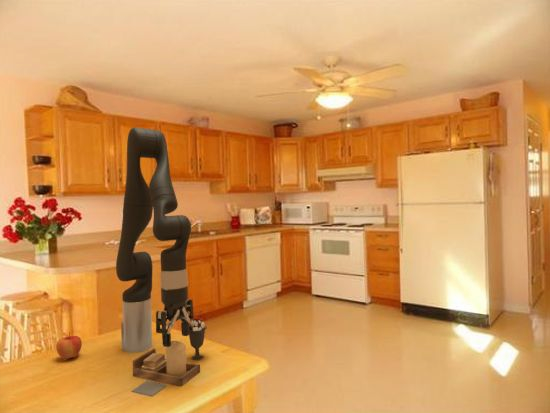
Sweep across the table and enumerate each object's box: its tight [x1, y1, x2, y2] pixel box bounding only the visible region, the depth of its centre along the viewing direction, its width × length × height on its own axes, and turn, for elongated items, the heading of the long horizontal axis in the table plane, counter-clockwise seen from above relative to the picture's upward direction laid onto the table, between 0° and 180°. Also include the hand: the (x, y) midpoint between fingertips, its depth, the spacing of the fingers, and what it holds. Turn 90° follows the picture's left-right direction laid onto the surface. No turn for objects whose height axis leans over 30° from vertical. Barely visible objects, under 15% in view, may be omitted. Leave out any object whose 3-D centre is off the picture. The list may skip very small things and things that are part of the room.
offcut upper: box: [144, 352, 166, 368], centre depth 113 cm, size 4×5×2 cm
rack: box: [132, 348, 201, 387], centre depth 111 cm, size 17×9×5 cm, turn 67°
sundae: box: [188, 310, 208, 361], centre depth 122 cm, size 7×7×15 cm
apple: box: [55, 332, 83, 361], centre depth 125 cm, size 7×7×8 cm
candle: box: [165, 340, 187, 377], centre depth 110 cm, size 6×6×10 cm
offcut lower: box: [141, 360, 166, 372], centre depth 113 cm, size 4×6×2 cm
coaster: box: [130, 380, 168, 397], centre depth 103 cm, size 7×6×1 cm
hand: (176, 340), depth 110 cm, fingers open, 8 cm apart
